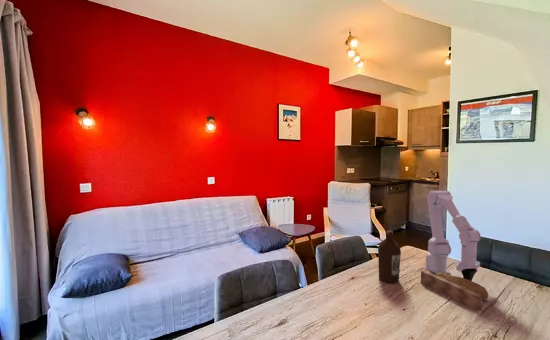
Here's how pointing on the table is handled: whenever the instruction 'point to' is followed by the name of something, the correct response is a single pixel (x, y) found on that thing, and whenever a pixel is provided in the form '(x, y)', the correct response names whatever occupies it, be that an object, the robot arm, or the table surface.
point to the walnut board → (452, 290)
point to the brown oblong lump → (465, 284)
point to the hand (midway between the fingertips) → (467, 282)
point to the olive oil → (389, 259)
